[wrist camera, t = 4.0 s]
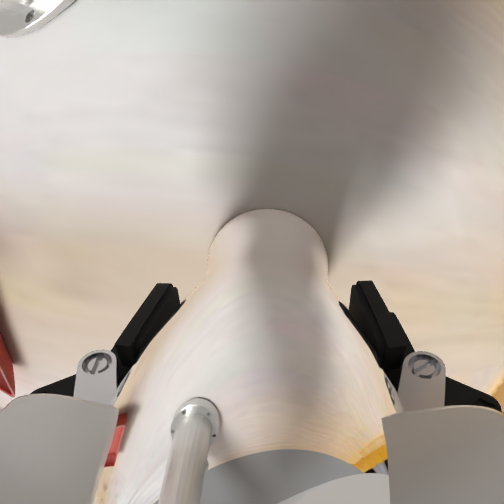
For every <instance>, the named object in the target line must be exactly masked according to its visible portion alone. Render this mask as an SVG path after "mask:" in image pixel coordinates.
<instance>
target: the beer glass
mask: <svg viewBox="0 0 504 504" xmlns="http://www.w3.org/2000/svg"><path fill="white" fill-rule="evenodd" d="M109 405H112V406H114V407H116V408H117V409H118V411H117V414H116V416H115V419H114V421H113V424H112V426H111V429H110V432H109V434H108V438H107V441H106V444H105V448H104V451H103V455H102V458H101V462H100V465H99V469H98V473H97V477H96V481H95V484H94V489H93V494H92V499H91V504H390V489H389V473H388V458H387V446H386V440H385V434H384V429H383V424H382V419H381V418H383V417H385V416H388V415H391V414H395V413H401V412H405V411H404V408H403V406H402V403H401V401H400V398H399V396H398V393H397V391H396V389H395V386H394V384H393V382H392V379H391V377H390V375H389V372H388V370H387V368H386V367H385V365H384V363H383V362H382V360H381V358H380V357H379V355H378V353H377V352H376V350H375V348H374V347H373V345H372V343H371V342H370V340H369V338H368V337H367V335H366V334H365V332H364V331H363V329H362V328H361V326H360V325H359V324H358V322H357V321H356V320H355V318H354V317H353V316H352V314H351V313H350V311H349V310H348V309H347V307H346V306H345V305H344V304H343V302H342V301H341V300H340V298H339V297H338V296H337V295H336V293H335V292H334V291H333V289H332V288H331V286H330V285H329V284H328V259H327V253H326V250H325V247H324V244H323V242H322V240H321V238H320V237H319V235H318V234H317V232H316V231H315V230H314V229H313V228H312V227H311V226H310V225H309V224H308V223H307V222H306V221H304V220H303V219H301V218H300V217H298V216H296V215H294V214H291V213H289V212H285V211H282V210H276V209H259V210H253V211H249V212H246V213H243V214H241V215H239V216H237V217H235V218H234V219H232V220H231V221H229V222H228V223H227V224H226V225H225V226H224V227H223V228H222V229H221V230H220V231H219V232H218V234H217V235H216V237H215V238H214V240H213V242H212V245H211V247H210V250H209V254H208V260H207V275H206V277H205V278H204V280H203V281H202V282H201V283H200V284H199V285H198V286H197V287H196V288H195V289H194V290H193V291H192V292H191V293H190V294H189V295H188V296H187V298H186V299H185V300H184V301H183V302H182V303H181V304H180V305H179V306H178V307H177V308H176V309H175V310H174V311H173V312H172V314H171V315H170V316H169V317H168V318H167V319H166V320H165V321H164V322H163V323H162V325H161V326H160V327H159V329H158V330H157V331H156V332H155V334H154V335H153V336H152V337H151V339H150V340H149V341H148V342H147V344H146V345H145V346H144V348H143V349H142V350H141V351H140V353H139V354H138V355H137V357H136V358H135V360H134V361H133V363H132V365H131V366H130V368H129V370H128V371H127V373H126V375H125V376H124V378H123V380H122V382H121V383H120V385H119V387H118V388H117V390H116V392H115V393H114V395H113V397H112V399H111V400H110V402H109Z"/></svg>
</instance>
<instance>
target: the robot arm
mask: <svg viewBox="0 0 504 504" xmlns="http://www.w3.org/2000/svg"><path fill="white" fill-rule="evenodd" d="M74 1H75V0H0V36H2V37H19V36H22V35H25V34H28V33H30V32H32V31H34V30H36V29H38V28H40V27H42V26H43V25H45V24H46V23H47V22H49V21H50V20H52V19H53V18H55V17H56V16H57V15H58V14H60V13H61V12H62V11H63V10H65V9H66V8H67V7H68V6H70V5H71V4H72V3H73V2H74ZM179 305H180V300H179V295H178V290H177V288H176V287H173V285H172V284H168V283H157V284H156V286H155V287H154V288H153V290H152V291H151V293H150V294H149V295H148V297H147V298H146V300H145V301H144V302H143V304H142V305H141V307H140V308H139V310H138V311H137V312H136V314H135V315H134V317H133V318H132V320H131V321H130V322H129V324H128V325H127V327H126V328H125V330H124V331H123V333H122V334H121V336H120V337H119V339H118V340H117V341H116V343H115V344H114V347H113V348H112V350H111V351H109V350H96V351H92V352H90V353H88V354H86V355H85V356H84V357H82V358H81V360H80V361H79V363H78V367H77V373H76V374H75V375H73V376H70V377H68V378H65V379H63V380H60V381H57V382H55V383H52V384H49V385H47V386H44V387H42V388H39V389H37V390H35V391H33V392H32V393H31V394H29V395H24V396H20V397H18V398H16V399H14V400H12V401H11V402H10V403H9V404H8V405H7V406H6V407H5V408H3V409H1V410H0V504H91V499H92V494H93V489H94V484H95V481H96V477H97V473H98V469H99V465H100V462H101V458H102V455H103V451H104V448H105V444H106V441H107V438H108V434H109V432H110V429H111V426H112V424H113V421H114V419H115V416H116V414H117V411H118V409H117V408H116V407H114V406H112V405H109V402H110V400H111V399H112V397H113V395H114V393H115V392H116V390H117V388H118V387H119V385H120V383H121V382H122V380H123V378H124V376H125V375H126V373H127V371H128V370H129V368H130V366H131V365H132V363H133V361H134V360H135V358H136V357H137V355H138V354H139V353H140V351H141V350H142V349H143V348H144V346H145V345H146V344H147V342H148V341H149V340H150V339H151V337H152V336H153V335H154V334H155V332H156V331H157V330H158V329H159V327H160V326H161V325H162V323H163V322H164V321H165V320H166V319H167V318H168V317H169V316H170V315H171V314H172V312H173V311H174V310H175V309H176V308H177V307H178V306H179ZM349 311H350V313H351V314H352V316H353V317H354V318H355V320H356V321H357V322H358V324H359V325H360V326H361V328H362V329H363V331H364V332H365V334H366V335H367V337H368V338H369V340H370V342H371V343H372V345H373V347H374V348H375V350H376V352H377V353H378V355H379V357H380V358H381V360H382V362H383V363H384V365H385V367H386V368H387V370H388V372H389V375H390V377H391V379H392V382H393V384H394V386H395V389H396V391H397V393H398V396H399V398H400V401H401V403H402V406H403V408H404V411H405V412H401V413H395V414H391V415H388V416H385V417H383V418H381V419H382V424H383V429H384V434H385V440H386V446H387V458H388V473H389V489H390V504H504V412H502V411H501V406H500V404H499V403H498V401H497V400H496V399H495V398H493V397H492V396H490V395H488V394H486V393H483V392H481V391H479V390H476V389H474V388H471V387H469V386H467V385H464V384H462V383H460V382H457V381H455V380H453V379H450V378H448V377H446V376H445V373H446V369H445V364H444V363H443V361H442V360H441V359H440V358H439V357H438V356H436V355H434V354H433V353H429V352H425V351H418V352H415V351H414V349H413V347H412V345H411V343H410V341H409V339H408V337H407V335H406V333H405V332H404V330H403V328H402V326H401V324H400V322H399V320H398V319H397V317H396V315H395V314H394V313H393V312H389V311H388V309H387V307H386V305H385V303H384V301H383V299H382V298H381V296H380V294H379V292H378V290H377V289H376V287H375V285H374V283H373V282H372V281H357V283H356V285H352V288H351V296H350V305H349Z"/></svg>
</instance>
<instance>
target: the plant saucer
mask: <svg viewBox="0 0 504 504" xmlns="http://www.w3.org/2000/svg"><path fill="white" fill-rule="evenodd" d="M0 390H1V391H3V392H4V393H6V394H8V395H9V396H11V397H15V381H14V372H13V365H12V360H11V358H10V355H9V353H8V350H7V348H6V346H5V343H4V341H3V338H2V335H1V333H0Z"/></svg>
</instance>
